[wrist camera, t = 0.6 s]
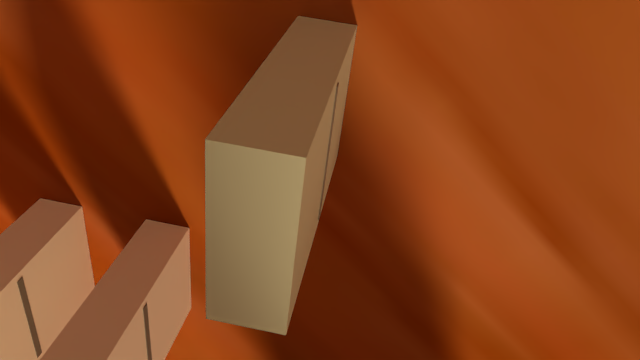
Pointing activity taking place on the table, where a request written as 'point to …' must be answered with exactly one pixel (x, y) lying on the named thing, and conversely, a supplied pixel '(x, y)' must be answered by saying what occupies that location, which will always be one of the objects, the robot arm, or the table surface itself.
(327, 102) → the sage domino
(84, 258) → the domino
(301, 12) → the table surface
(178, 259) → the domino
